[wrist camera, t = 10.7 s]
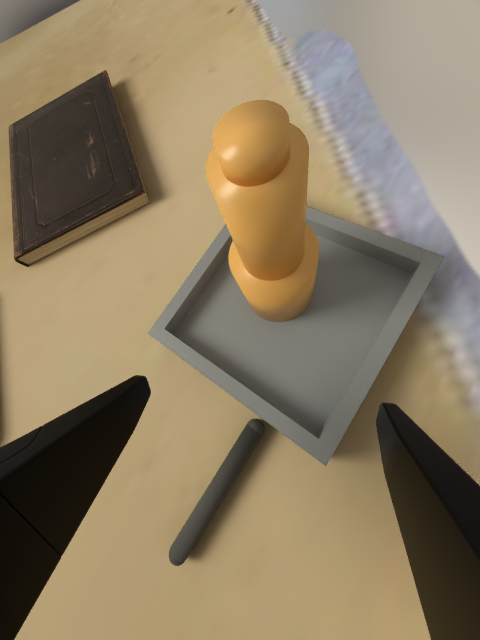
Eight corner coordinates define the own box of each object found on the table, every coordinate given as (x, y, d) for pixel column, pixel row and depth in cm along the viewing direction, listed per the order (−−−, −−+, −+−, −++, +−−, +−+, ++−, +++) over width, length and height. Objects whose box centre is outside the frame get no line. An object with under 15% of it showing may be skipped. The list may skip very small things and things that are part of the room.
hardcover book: (117, 90, 34) (105, 69, 32) (156, 206, 26) (143, 190, 24) (22, 143, 36) (5, 127, 33) (32, 269, 28) (9, 259, 26)
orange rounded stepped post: (327, 296, 18) (381, 122, 6) (269, 335, 18) (219, 231, 7) (287, 248, 20) (273, 46, 8) (234, 284, 20) (148, 133, 9)
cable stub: (268, 424, 17) (266, 427, 16) (184, 562, 16) (175, 576, 15) (254, 414, 17) (251, 415, 16) (171, 548, 16) (161, 559, 15)
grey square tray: (428, 271, 18) (444, 256, 16) (322, 457, 16) (326, 466, 14) (256, 203, 23) (252, 186, 21) (161, 338, 21) (147, 333, 19)
